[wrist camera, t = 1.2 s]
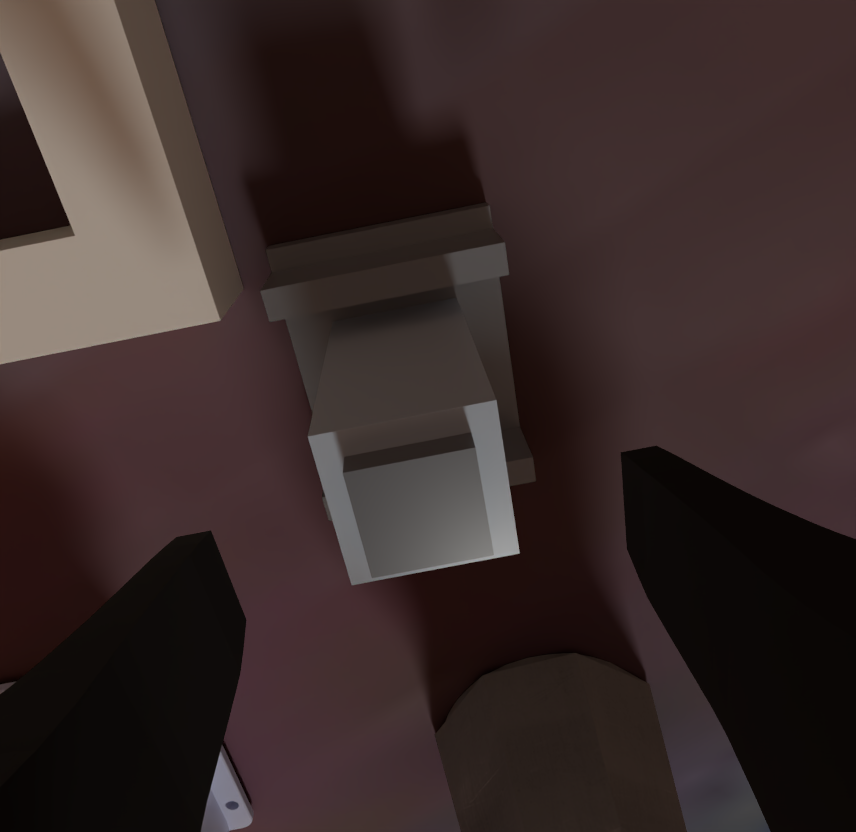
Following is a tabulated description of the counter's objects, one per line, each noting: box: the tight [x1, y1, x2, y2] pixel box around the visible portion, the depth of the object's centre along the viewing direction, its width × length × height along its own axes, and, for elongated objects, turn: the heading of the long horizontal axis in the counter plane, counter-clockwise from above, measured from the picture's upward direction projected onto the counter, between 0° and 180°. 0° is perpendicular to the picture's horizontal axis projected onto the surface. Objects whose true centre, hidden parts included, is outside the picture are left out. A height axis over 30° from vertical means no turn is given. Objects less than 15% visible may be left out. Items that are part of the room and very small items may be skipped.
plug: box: [308, 297, 520, 585], centre depth 16 cm, size 4×4×8 cm
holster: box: [260, 203, 536, 521], centre depth 19 cm, size 8×6×2 cm
